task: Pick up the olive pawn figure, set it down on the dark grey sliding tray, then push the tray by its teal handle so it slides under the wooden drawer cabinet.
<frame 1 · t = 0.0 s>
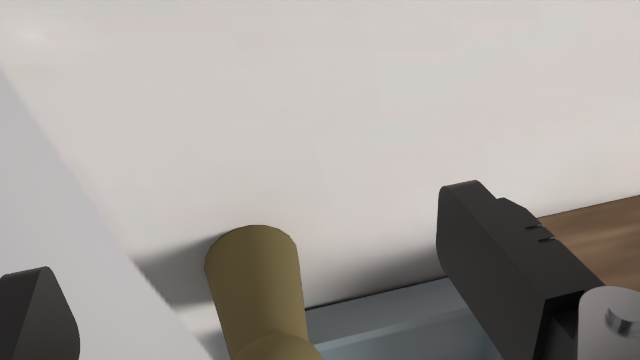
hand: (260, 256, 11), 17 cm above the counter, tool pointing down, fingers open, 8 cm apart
olive pawn figure: (251, 260, 34), on the counter
wooden drawer cabinet: (583, 292, 44), on the counter
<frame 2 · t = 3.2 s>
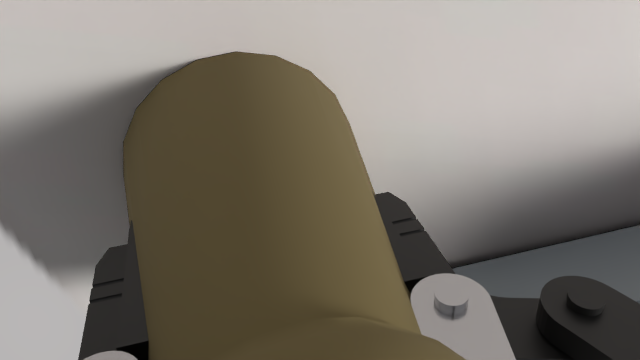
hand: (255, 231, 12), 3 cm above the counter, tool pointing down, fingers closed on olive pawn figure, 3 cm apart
olive pawn figure: (242, 160, 14), on the counter, touching gripper
when the fingers open (5 cm above the counter, at t = 8.6 s): olive pawn figure stays where it is, resting on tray.
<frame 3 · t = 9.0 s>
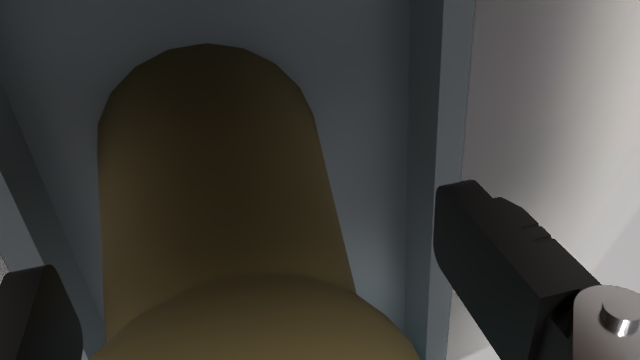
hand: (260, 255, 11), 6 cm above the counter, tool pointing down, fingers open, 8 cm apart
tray: (256, 254, 15), point 3 cm above the counter, slide at 0.0 cm, touching olive pawn figure
olive pawn figure: (211, 146, 15), point 1 cm above the counter, touching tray
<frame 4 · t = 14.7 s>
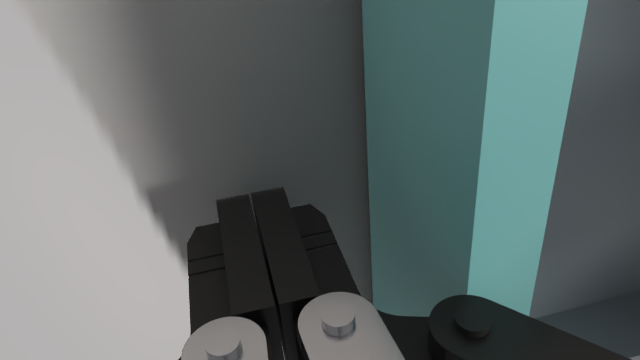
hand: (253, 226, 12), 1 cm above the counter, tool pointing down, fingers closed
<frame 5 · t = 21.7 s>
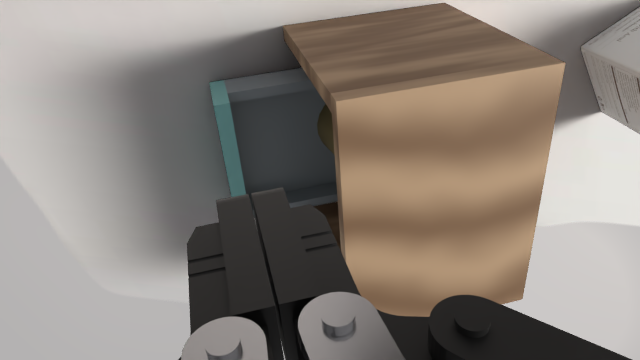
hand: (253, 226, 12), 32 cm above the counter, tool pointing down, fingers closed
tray: (324, 142, 45), point 3 cm above the counter, slide at 12.6 cm, touching olive pawn figure
olive pawn figure: (349, 121, 46), point 1 cm above the counter, touching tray
supplement box: (626, 54, 52), on the counter
wooden drawer cabinet: (368, 119, 48), on the counter
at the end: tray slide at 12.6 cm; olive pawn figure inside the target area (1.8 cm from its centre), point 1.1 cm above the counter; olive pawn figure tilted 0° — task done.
